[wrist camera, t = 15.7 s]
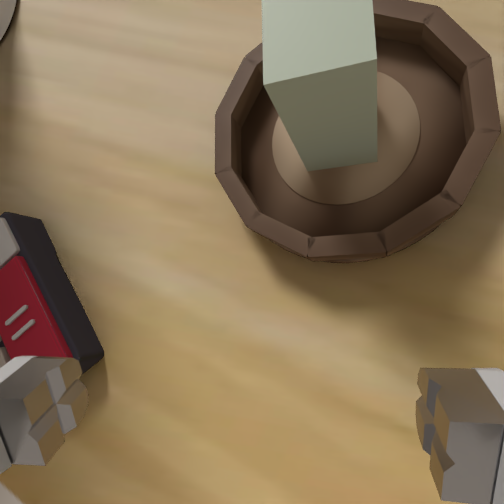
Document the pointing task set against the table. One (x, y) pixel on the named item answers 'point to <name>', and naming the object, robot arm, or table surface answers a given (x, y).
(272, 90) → the block
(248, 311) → the table surface
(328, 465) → the table surface
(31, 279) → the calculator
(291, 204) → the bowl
